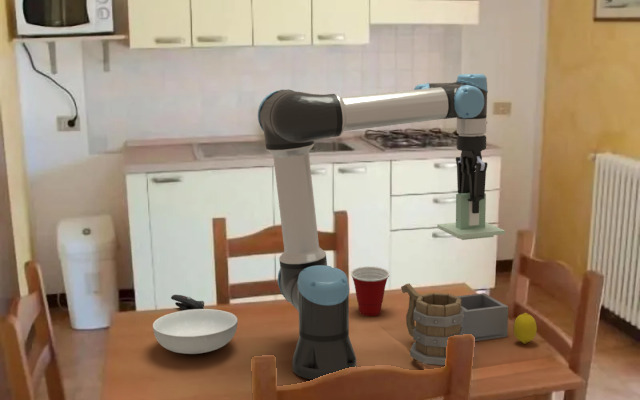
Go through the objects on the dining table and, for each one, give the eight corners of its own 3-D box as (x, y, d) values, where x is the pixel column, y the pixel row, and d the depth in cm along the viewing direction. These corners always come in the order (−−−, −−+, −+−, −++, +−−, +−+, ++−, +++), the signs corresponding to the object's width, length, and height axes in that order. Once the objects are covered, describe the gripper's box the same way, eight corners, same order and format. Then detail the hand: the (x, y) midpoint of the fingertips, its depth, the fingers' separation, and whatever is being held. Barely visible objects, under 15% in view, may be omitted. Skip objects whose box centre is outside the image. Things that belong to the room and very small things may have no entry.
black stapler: (210, 320, 214) (209, 301, 213) (187, 325, 210) (186, 305, 209) (186, 303, 229) (185, 285, 228) (163, 308, 225) (162, 289, 224)
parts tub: (465, 342, 194) (465, 311, 193) (443, 326, 206) (443, 297, 204) (507, 336, 198) (508, 306, 196) (483, 321, 209) (484, 293, 208)
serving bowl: (250, 336, 201) (249, 311, 200) (218, 367, 181) (217, 339, 180) (177, 329, 207) (175, 305, 205) (138, 359, 187) (136, 332, 186)
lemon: (520, 348, 190) (521, 317, 188) (509, 341, 195) (510, 310, 193) (540, 346, 191) (541, 315, 190) (528, 338, 196) (529, 308, 195)
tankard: (475, 358, 184) (477, 297, 182) (433, 369, 178) (434, 306, 175) (424, 333, 201) (425, 277, 199) (383, 342, 195) (384, 285, 192)
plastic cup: (354, 320, 211) (353, 278, 209) (347, 308, 222) (347, 267, 220) (393, 318, 213) (393, 276, 210) (385, 306, 223) (385, 265, 221)
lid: (458, 242, 197) (459, 199, 195) (437, 231, 210) (437, 191, 207) (504, 238, 201) (505, 196, 199) (481, 227, 213) (481, 187, 211)
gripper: (500, 136, 194) (498, 228, 198) (470, 130, 209) (469, 216, 213) (472, 138, 192) (471, 231, 196) (444, 132, 207) (444, 218, 211)
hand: (470, 223), depth 205 cm, fingers closed on lid, 3 cm apart
